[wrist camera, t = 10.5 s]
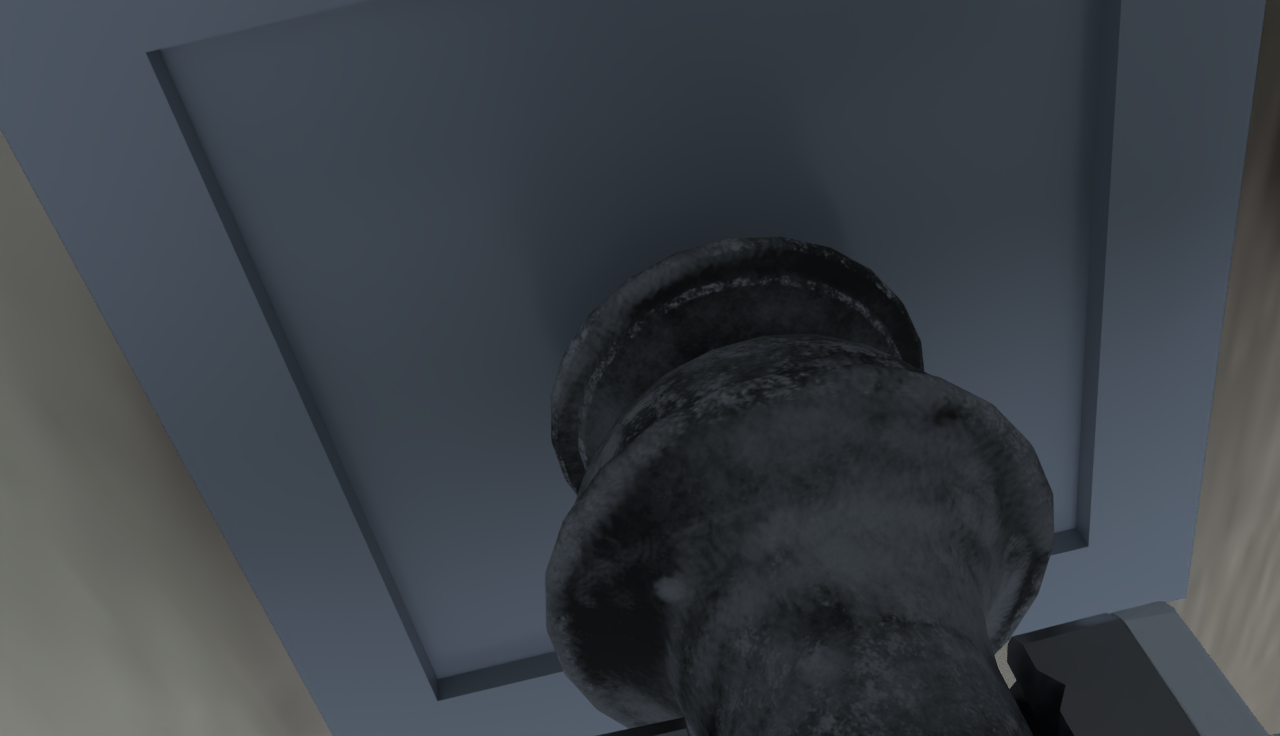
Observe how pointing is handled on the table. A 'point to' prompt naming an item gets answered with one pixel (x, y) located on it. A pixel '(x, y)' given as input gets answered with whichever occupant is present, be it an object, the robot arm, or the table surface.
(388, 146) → the slate tray
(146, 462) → the table surface
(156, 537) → the table surface
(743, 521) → the dark grey turned piece
